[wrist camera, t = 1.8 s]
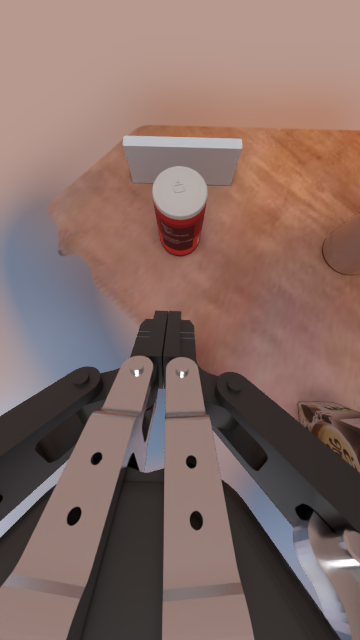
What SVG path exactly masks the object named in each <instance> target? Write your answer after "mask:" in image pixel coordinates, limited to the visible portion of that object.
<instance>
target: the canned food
mask: <svg viewBox="0 0 360 640" xmlns="http://www.w3.org/2000/svg"><path fill="white" fill-rule="evenodd" d="M152 192H153V201H154V208H155V213H156V218H157V224H158V229H159V234H160V240H161V242H162V244H163V246H164V247H165V248H166V250H167V251H169V252H170V253H172V254H174V255H180V256H181V255H186V254H189V253H191V252H192V251H193V250H194V249H195V248H196V246H197V245H198V243H199V240H200V235H201V229H202V224H203V219H204V213H205V208H206V202H207V185H206V183H205V181H204V179H203V177H202V176H201V175H200V174H199V173H198V172H196V171H195V170H193V169H191V168H188V167H184V166H175V167H171V168H168V169H166V170H164V171H163V172H161V173H160V174H159V175H158V176H157V178H156V180H155V181H154V184H153V190H152Z"/></svg>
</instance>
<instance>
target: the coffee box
mask: <svg viewBox="0 0 360 640" xmlns="http://www.w3.org/2000/svg"><path fill="white" fill-rule="evenodd" d="M298 409H299V421H300V424H302V425H303V426H304V427H305V428H307V429H308V430H309V431H310V432H311V433H313V434H314V435H315V436H316V437H317V438H319V439H320V440H321V441H322V442H323V443H325V444H326V445H327V446H328V447H329V448H331V449H332V450H333V451H334V452H336V453H337V454H338V455H339V456H340V457H342V458H343V459H344V460H345V461H346V462H348V463H349V464H350V465H351V466H352V467H354V468H355V469H356V470H357V471H358V472H360V412H358V411H355V410H352V409H350V408H347V407H344V406H341V405H339V404H336V403H333V402H299V403H298Z"/></svg>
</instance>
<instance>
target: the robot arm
mask: <svg viewBox="0 0 360 640" xmlns="http://www.w3.org/2000/svg"><path fill="white" fill-rule="evenodd" d="M323 254H324V257H325V260H326V261H327V263H328V264H329V265H330V266H331V267H332V268H333V269H334V270H336V271H337V272H340V273H342V274H347V275H354V274H358V273H360V212H359V213H357V214H356V215H355V216H354V217H352V218H351V219H350V220H348V221H347V222H346V223H344V224H343V225H342V226H340V227H339V228H338V229H336V230H335V231H334V232H333V233H331V234H330V235H329V236H328V237H327V238H326V240H325V241H324V244H323ZM163 384H164V388H165V389H166V415H165V468H164V469H160V470H157V471H153V472H150V473H144V470H145V464H146V456H147V445H148V440H149V435H150V430H151V426H152V421H153V416H154V412H155V407H156V399H157V393H158V388H162V389H163ZM212 430H213V431H214V432H215V433H216V434H217V436H218V437H219V438H220V439H221V440H222V442H223V443H224V444H225V445H226V446H227V448H228V449H229V450H230V451H231V452H232V454H233V455H234V456H235V457H236V458H237V460H238V461H239V462H240V463H241V465H242V466H243V467H244V468H245V469H246V471H247V472H248V473H249V474H250V476H251V477H252V478H253V479H254V480H255V482H256V483H257V484H258V485H259V486H260V488H261V489H262V490H263V491H264V492H265V494H266V495H267V496H268V497H269V499H270V500H271V501H272V502H273V503H274V504H275V506H276V507H277V508H278V509H279V510H280V512H281V513H282V514H283V515H284V517H285V518H286V519H287V520H288V521H289V523H290V524H291V525H292V526H293V528H294V531H293V542H294V548H295V551H296V555H297V557H298V560H299V562H300V564H301V566H302V568H303V570H304V571H305V573H306V575H307V576H308V578H309V579H310V581H311V583H312V584H313V586H314V588H315V590H316V592H317V594H318V597H319V599H320V602H321V605H322V609H323V612H324V614H323V613H322V611H321V610H320V609H319V607H318V606H317V604H316V603H315V601H314V600H313V599H312V597H311V596H310V594H309V593H308V591H307V590H306V589H305V588H304V586H303V584H302V583H301V581H300V580H299V579H298V577H297V576H296V574H295V573H294V572H293V570H292V569H291V567H290V566H289V564H288V563H287V562H286V560H285V559H284V557H283V556H282V554H281V553H280V552H279V550H278V549H277V547H276V546H275V544H274V543H273V542H272V540H271V539H270V537H269V536H268V534H267V533H266V532H265V530H264V529H263V527H262V526H261V524H260V523H259V522H258V520H257V519H256V517H255V516H254V515H253V513H252V512H251V510H250V509H249V507H248V506H247V504H246V503H245V502H244V500H243V499H242V498H241V497H240V496H239V494H238V493H237V492H236V491H235V490H234V489H233V488H231V487H230V486H229V485H228V484H227V483H226V482H224V481H223V480H221V476H220V470H219V465H218V459H217V454H216V448H215V443H214V437H213V432H212ZM68 459H69V460H68ZM67 460H68V462H67V464H66V466H65V468H64V471H63V473H62V475H61V477H60V479H59V481H58V483H57V484H56V485H55V486H54V487H52V488H51V489H50V490H49V491H48V492H46V493H45V494H44V495H43V496H42V497H41V498H40V499H39V500H38V501H37V502H36V503H35V504H34V505H33V506H32V507H31V508H30V509H29V510H28V511H27V512H26V513H25V514H24V515H23V516H22V517H21V518H20V519H19V520H18V521H17V522H16V523H15V524H14V525H13V526H12V527H11V528H10V529H9V530H8V531H7V532H6V533H5V534H4V535H3V536H2V537H1V538H0V640H360V472H358V471H357V470H356V469H355V468H354V467H352V466H351V465H350V464H349V463H348V462H346V461H345V460H344V459H343V458H342V457H340V456H339V455H338V454H337V453H336V452H334V451H333V450H332V449H331V448H329V447H328V446H327V445H326V444H325V443H323V442H322V441H321V440H320V439H319V438H317V437H316V436H315V435H314V434H313V433H311V432H310V431H309V430H308V429H307V428H305V427H304V426H303V425H302V424H300V423H299V422H298V421H297V420H296V419H294V418H293V417H292V416H291V415H290V414H288V413H287V412H286V411H285V410H284V409H282V408H281V407H280V406H279V405H277V404H276V403H275V402H274V401H273V400H271V399H270V398H269V397H268V396H267V395H265V394H264V393H263V392H262V391H261V390H259V389H258V388H257V387H256V386H255V385H253V384H252V383H251V382H250V381H248V380H247V379H246V378H245V377H243V376H242V375H240V374H238V373H234V372H226V373H223V374H221V375H220V376H219V377H218V376H215V375H212V374H209V373H207V372H205V371H203V370H202V369H201V368H200V367H199V366H198V364H197V362H196V351H195V335H194V325H193V324H192V323H191V321H190V320H181V312H179V311H169V314H168V311H155V314H154V319H146V320H145V321H144V322H143V323H142V324H141V325H140V328H139V332H138V335H137V338H136V341H135V344H134V347H133V350H132V354H131V357H130V358H129V359H127V360H126V361H125V362H124V363H123V364H122V366H121V368H119V369H116V370H113V371H109V372H105V373H100V372H99V371H98V370H97V369H96V368H94V367H82V368H79V369H76V370H75V371H73V372H71V373H70V374H68V375H66V376H65V377H63V378H61V379H60V380H58V381H57V382H55V383H53V384H52V385H50V386H48V387H47V388H45V389H44V390H42V391H40V392H39V393H37V394H36V395H34V396H32V397H31V398H29V399H27V400H26V401H24V402H23V403H21V404H19V405H18V406H16V407H14V408H13V409H11V410H10V411H8V412H6V413H5V414H3V415H1V416H0V521H1V520H2V519H3V518H4V517H5V516H6V515H8V513H10V512H11V511H12V510H13V509H14V508H15V507H16V506H18V505H19V504H20V503H21V502H22V501H23V500H24V499H25V498H26V497H27V496H28V495H30V494H31V493H32V492H33V491H34V490H35V489H36V488H37V487H38V486H40V485H41V484H42V483H43V482H44V481H45V480H46V479H47V478H48V477H50V476H51V475H52V474H53V473H54V472H55V471H56V470H57V469H58V468H59V467H60V466H62V465H63V464H64V463H65V462H66V461H67Z"/></svg>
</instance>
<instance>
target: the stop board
mask: <svg viewBox="0 0 360 640" xmlns="http://www.w3.org/2000/svg"><path fill="white" fill-rule="evenodd" d="M123 148H124V152H125V156H126V159H127V163H128V166H129V170H130V173H131V177H132V180H133V183H154V181H155V180H156V178H157V176H158V175H159V174H160V173H161V172H163V171H164V170H166V169H168V168H171V167H175V166H184V167H188V168H191V169H193V170H195V171H196V172H198V173H199V174H200V175H201V176H202V177H203V179H204V181H205V183H206V185H231V183H232V180H233V177H234V173H235V170H236V167H237V164H238V160H239V157H240V154H241V151H242V139H228V138H191V137H154V136H124V137H123Z"/></svg>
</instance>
